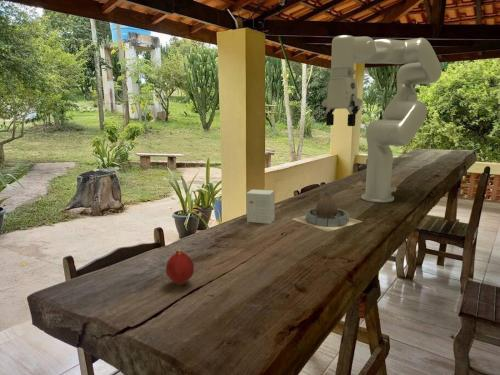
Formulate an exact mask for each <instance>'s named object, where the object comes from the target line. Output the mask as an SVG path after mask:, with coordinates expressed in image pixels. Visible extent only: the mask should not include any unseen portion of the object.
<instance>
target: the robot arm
mask: <svg viewBox="0 0 500 375" xmlns="http://www.w3.org/2000/svg"><path fill="white" fill-rule="evenodd" d="M330 59H331V61H330V79H329V83H328V88H327V95H326V98H325V99H324V100H323V101H322V102H321V106H322V110H323V112H324V113H325V115H326V116H325V117H326V118H325V119H326V120H325V122H326V123H325V125H326V126H333V125H334V124H335V122H334V120H335V114H334V112H335V110H336V109H341V110H342V109H344V110H345V109H346V110H347V112H348V113H349V114H348V115H347V123H346V124H347V127H355V126H356V117H357V114H358V112H359V110H360V109H361V106H362V104H363V100H362V99H361V98H359V97H358V86H357V80H356V78H355V77H354V75H356V72H357V71H356V69H355V64H373V65H374V64H386V65H387V64H392V65H402V66H400V67H399V68H398V70H397V72H396V88H397V89H396V90H397V92H396V93H395V95H394V97H393V98H392V99H391V101H390V102H389V104H388V105H387V106H386V107H385V109H384V111H383V113H382V119H377V120H373V121H371V122H369V123H368V125H367V126H366V129H365V136H366V137H365V139H366V143H367V159H366V160H367V161H366V176H365V178H366V180H365V193H362V194H361V196H360V197H361V199H362V200H363V201H366V202H367V201H368V202H372V203H391V202H394V200H395V197H394V196H393V195H392V193H395V192H397V188H396V187H392V177H393V176H392V174H393V161H394V155H393V150H392V149H391V147H390V146H395V147H404V146H407V145H408V144H410V143H411V142H412V140H413V139H414V137H415V136H416V135H417V134H418V132H419V130H420V129H421V128H422V126H423V125H424V122H425V120H426V118H427V112H428V111H427V106H426V104H425V102H422V101H420V100H418V99H419V97H418V96H419V95H418V94H417V92H416V90H415V88H414V85H425V84H427V85H428V84H433V83H436V82H437V81H439V79H440V78H441V75H442V65H441V63H440V61H439V59H438V56H437V54H436V52H435V50H434V48H433V46H432V45H431V43H430V41H428V39H426V38H424V37H418V38H411V39H405V40H401V39H399V40H398V39H393V38H391V39H390V38H389V39H388V38H381V39H380V38H379V39H374V38H372V37H370V36H363V35H362V36H353V35H348V34H342V35H337V36H334V37H333V39H332V40H331V58H330Z"/></svg>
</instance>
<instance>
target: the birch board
mask: <svg viewBox="0 0 500 375" xmlns="http://www.w3.org/2000/svg"><path fill="white" fill-rule="evenodd" d="M335 218H337V217H335ZM292 220H294V221H296V222H299V223H302V224H306V225H308V226H310V227H313V228H316V229H318V230H322V231H323V232H324V231H325V232H327V233H329V232H331V231H335V230H339V229H342V228H347V227H350V226H353V225H356V224H360V223H363V221H362V220H358V219H355V218H352V217H349V221H348V223H347V224H346V225H342V226H338V227H324V226H316V225H313V224H310V223H308V222H307V221H306V220H305V215H302V216H297V217H293V218H292Z"/></svg>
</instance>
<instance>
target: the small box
mask: <svg viewBox="0 0 500 375" xmlns="http://www.w3.org/2000/svg"><path fill="white" fill-rule="evenodd" d="M245 195H246V200H245V201H246V225H251V223H258V224H269V225H271V224H272V223H273V222H274V221H275V219H276V218H275V212H276V211H275V190H267V189H250V190H249V191H247V192H246V193H245Z"/></svg>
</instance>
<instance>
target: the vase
mask: <svg viewBox="0 0 500 375" xmlns="http://www.w3.org/2000/svg"><path fill="white" fill-rule="evenodd" d="M337 204H338V203H337V202H336V200H335V199H334V197H333V195H332V194H331V192H330V193H329V192H324V193H322V195H321V197H320V198H319V199H318V200H317V202H316V205H315V208H316V215H317V217H324V218H335V217H336V215H337V208H338V205H337Z"/></svg>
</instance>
